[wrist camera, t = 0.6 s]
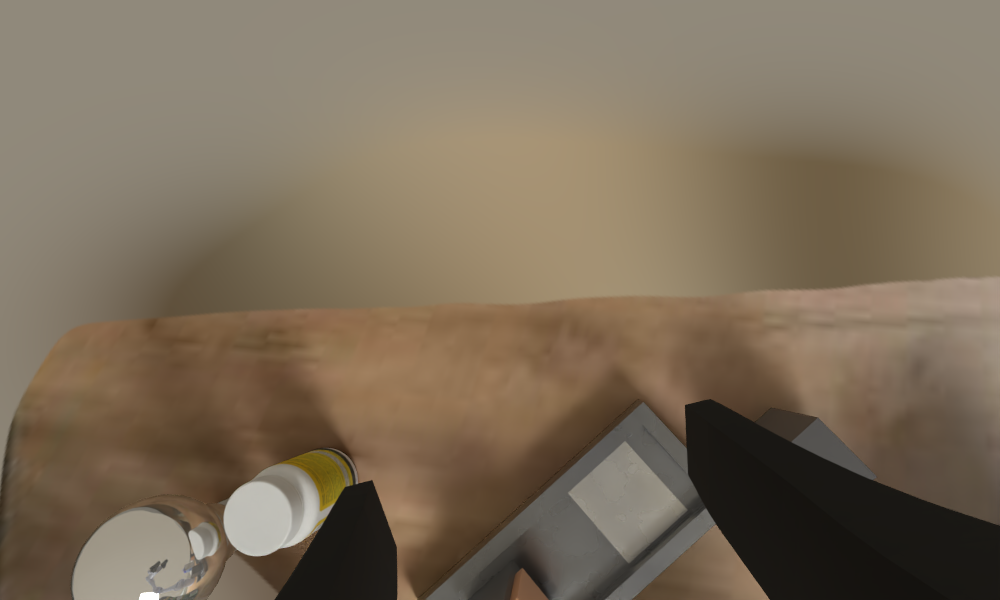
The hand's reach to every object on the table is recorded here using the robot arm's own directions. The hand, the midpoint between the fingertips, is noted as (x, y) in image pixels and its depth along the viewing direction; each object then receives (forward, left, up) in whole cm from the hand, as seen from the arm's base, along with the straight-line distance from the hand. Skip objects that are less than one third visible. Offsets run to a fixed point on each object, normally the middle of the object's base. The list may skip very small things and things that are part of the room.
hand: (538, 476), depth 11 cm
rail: (-8, +6, -23) cm, 25 cm away
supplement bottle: (+6, +16, -24) cm, 29 cm away
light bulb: (+8, +22, -24) cm, 33 cm away
